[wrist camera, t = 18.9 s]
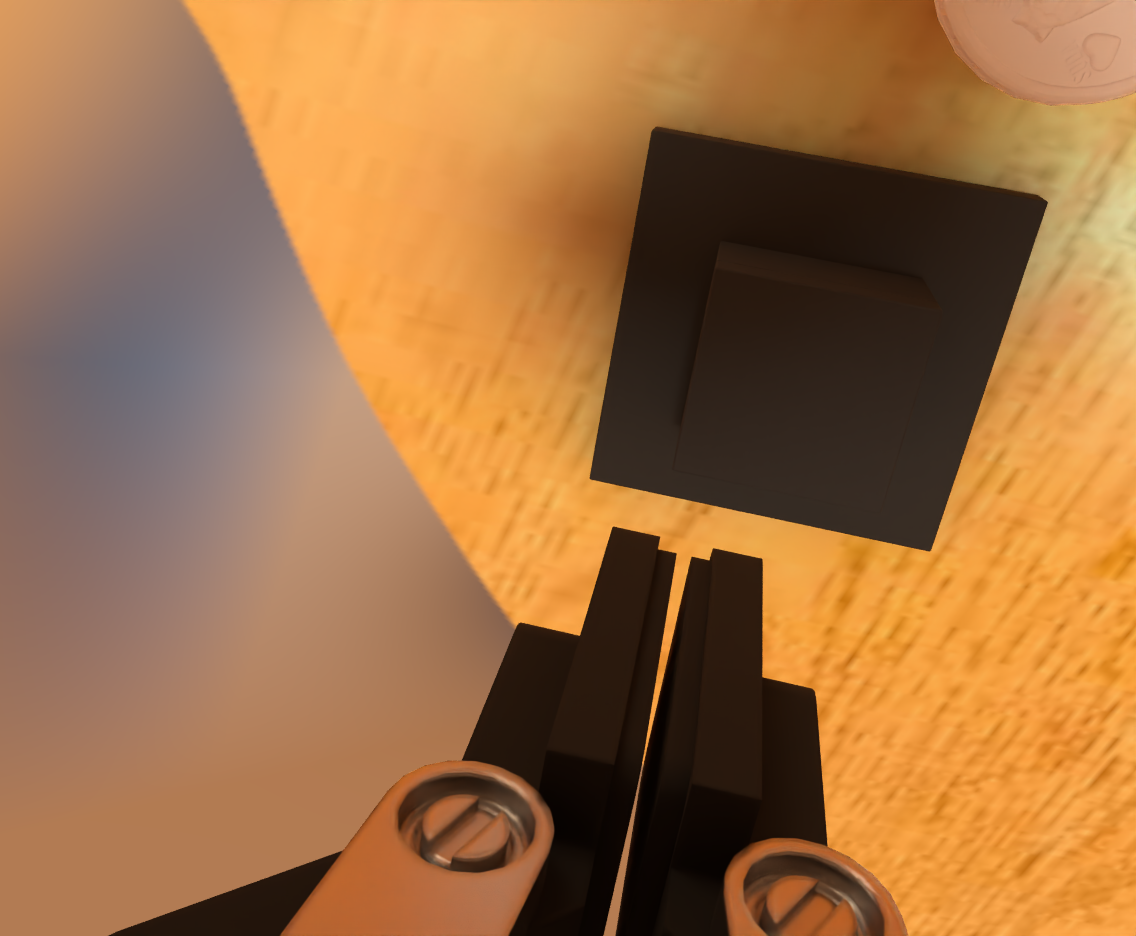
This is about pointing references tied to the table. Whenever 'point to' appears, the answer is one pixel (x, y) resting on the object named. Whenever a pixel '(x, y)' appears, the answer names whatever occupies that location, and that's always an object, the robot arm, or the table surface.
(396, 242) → the table surface
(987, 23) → the smoothie
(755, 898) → the robot arm
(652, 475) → the base pad
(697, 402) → the top pad
